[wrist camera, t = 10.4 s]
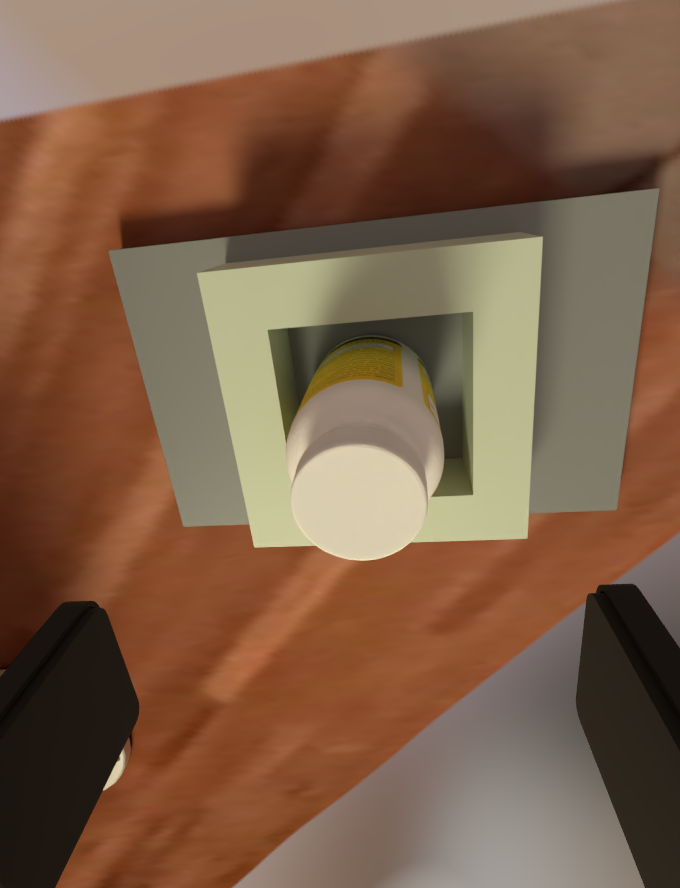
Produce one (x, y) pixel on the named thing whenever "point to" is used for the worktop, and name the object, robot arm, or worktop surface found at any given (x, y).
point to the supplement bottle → (365, 450)
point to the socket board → (421, 329)
